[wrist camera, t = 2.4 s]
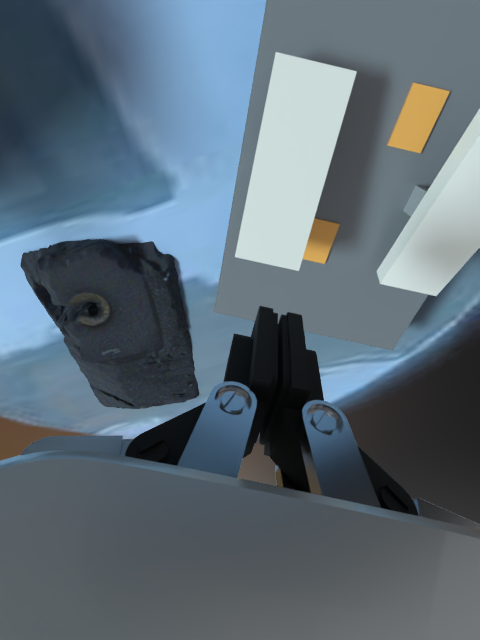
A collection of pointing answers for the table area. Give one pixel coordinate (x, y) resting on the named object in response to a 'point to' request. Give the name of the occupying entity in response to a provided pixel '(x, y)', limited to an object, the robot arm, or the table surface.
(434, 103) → the switch box
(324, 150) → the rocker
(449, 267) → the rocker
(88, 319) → the dark slate chunk
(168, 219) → the table surface
